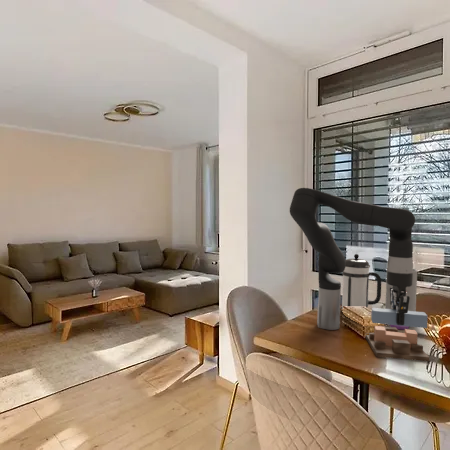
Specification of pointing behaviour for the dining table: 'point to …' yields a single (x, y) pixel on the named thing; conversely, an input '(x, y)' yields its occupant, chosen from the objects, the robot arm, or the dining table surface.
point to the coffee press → (358, 283)
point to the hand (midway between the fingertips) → (397, 322)
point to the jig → (397, 348)
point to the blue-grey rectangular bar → (390, 315)
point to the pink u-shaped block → (394, 336)
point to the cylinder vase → (410, 292)
